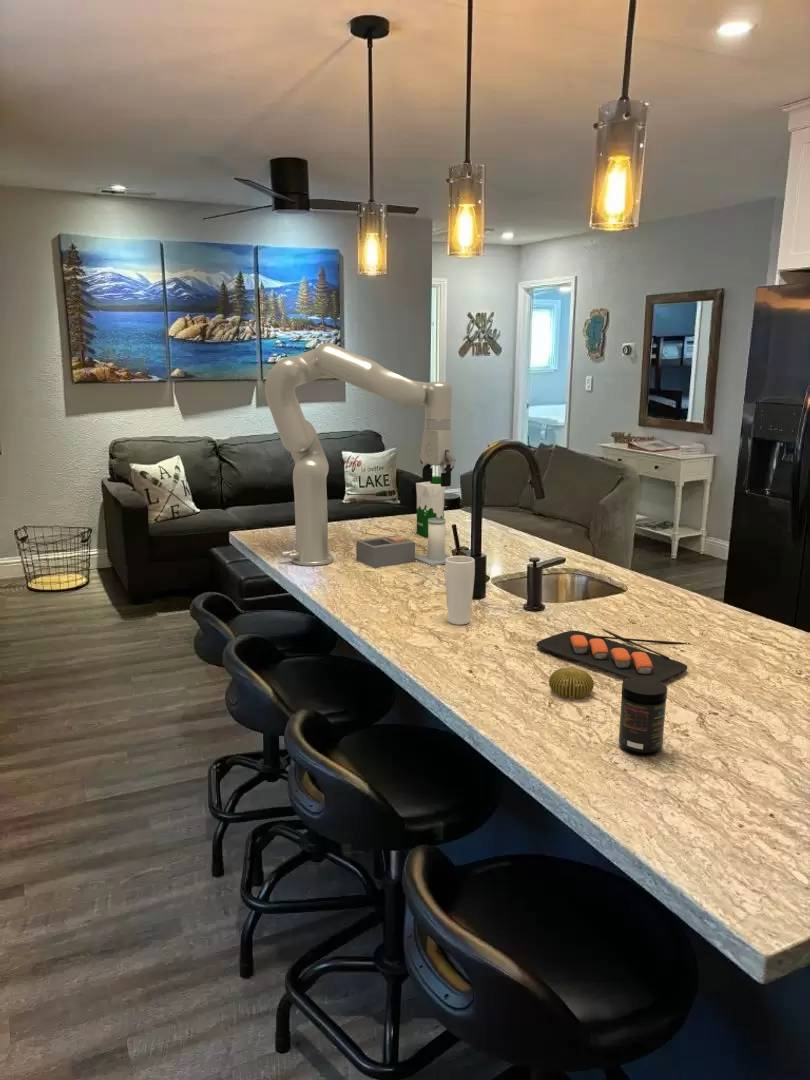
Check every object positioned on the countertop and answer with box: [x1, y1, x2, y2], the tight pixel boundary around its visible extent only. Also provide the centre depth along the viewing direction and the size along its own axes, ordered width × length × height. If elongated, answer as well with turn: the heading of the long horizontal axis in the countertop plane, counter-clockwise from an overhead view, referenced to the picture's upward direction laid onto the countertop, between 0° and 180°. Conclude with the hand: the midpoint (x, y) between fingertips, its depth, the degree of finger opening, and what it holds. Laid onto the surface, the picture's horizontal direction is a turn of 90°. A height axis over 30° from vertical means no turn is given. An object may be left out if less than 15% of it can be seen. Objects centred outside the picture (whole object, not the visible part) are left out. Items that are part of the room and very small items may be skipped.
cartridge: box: [427, 517, 446, 561], centre depth 240 cm, size 5×5×12 cm
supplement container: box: [618, 678, 668, 757], centre depth 125 cm, size 7×7×10 cm
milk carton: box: [415, 475, 447, 539], centre depth 274 cm, size 9×9×20 cm
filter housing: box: [355, 534, 416, 569], centre depth 241 cm, size 14×11×6 cm
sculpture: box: [548, 667, 595, 700], centre depth 147 cm, size 8×4×8 cm
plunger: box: [387, 535, 407, 542], centre depth 243 cm, size 4×4×5 cm
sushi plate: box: [536, 628, 691, 683], centre depth 168 cm, size 29×30×4 cm
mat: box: [415, 554, 451, 567], centre depth 241 cm, size 10×10×1 cm
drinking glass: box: [444, 555, 476, 626], centre depth 185 cm, size 7×7×15 cm
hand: (436, 483), depth 236 cm, fingers open, 9 cm apart
